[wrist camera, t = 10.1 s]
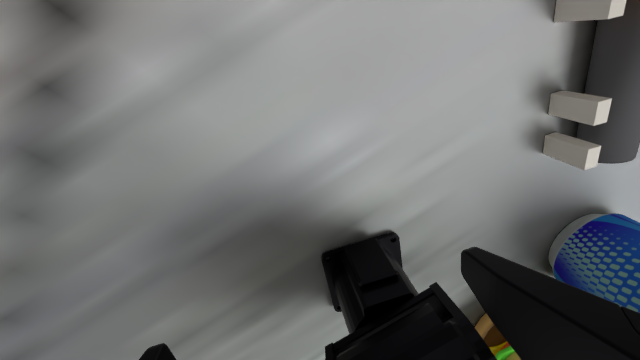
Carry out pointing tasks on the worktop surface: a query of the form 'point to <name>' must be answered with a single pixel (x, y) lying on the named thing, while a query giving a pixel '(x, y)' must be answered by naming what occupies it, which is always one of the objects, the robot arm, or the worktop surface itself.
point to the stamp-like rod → (616, 86)
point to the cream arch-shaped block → (588, 10)
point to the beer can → (600, 257)
